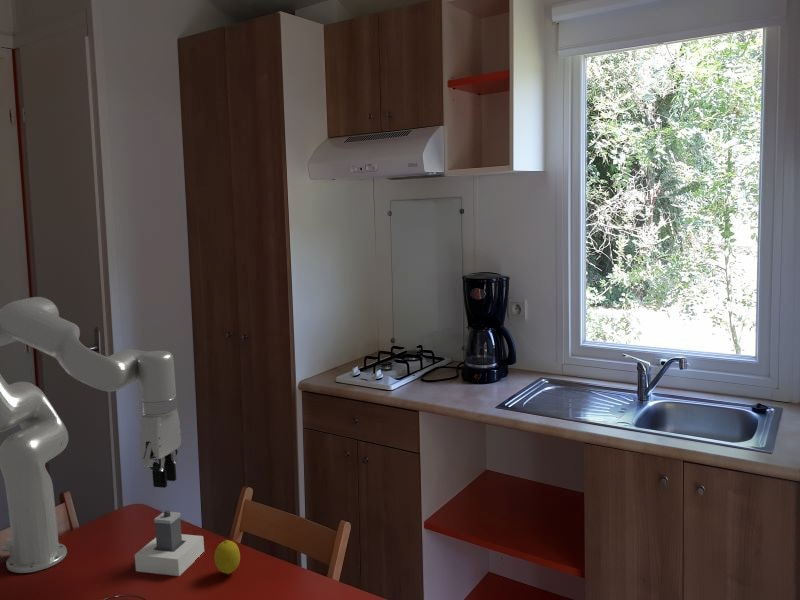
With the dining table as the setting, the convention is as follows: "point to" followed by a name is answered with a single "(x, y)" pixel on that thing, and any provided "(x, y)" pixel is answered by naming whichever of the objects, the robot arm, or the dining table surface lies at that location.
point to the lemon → (227, 557)
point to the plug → (168, 531)
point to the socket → (169, 556)
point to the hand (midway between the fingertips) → (165, 482)
